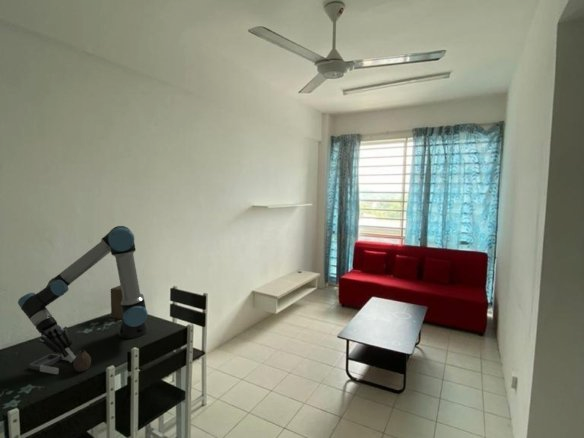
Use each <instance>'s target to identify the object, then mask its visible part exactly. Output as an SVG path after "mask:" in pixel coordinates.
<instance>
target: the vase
mask: <svg viewBox="0 0 584 438" xmlns="http://www.w3.org/2000/svg"><path fill="white" fill-rule="evenodd" d="M75 356H76V357H75V359H74V362H72V363H73V369H74V370H75V371H76V372H78V373H81V372H85V371H87V370H88V369H89V368H90V366H91V363H92V357H91V356H90V354H89V353H88V352H87V351H86V350H84V349H83V350H80V351H78V353H77V355H75Z"/></svg>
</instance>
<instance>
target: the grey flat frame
mask: <svg viewBox="0 0 584 438" xmlns="http://www.w3.org/2000/svg"><path fill="white" fill-rule="evenodd" d="M59 361H63V360H62V354H59V353H49V354H46V355H45V356H42V357H41V358H39V359H36V360H35V361H33V362H31V363H29V364H27V366H28V367H27V370H34V371H39V372H41V371H40V366H41V365H43V366H49V367H51V366H53V365H54V364H56V363H58V362H59Z"/></svg>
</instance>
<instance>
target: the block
mask: <svg viewBox="0 0 584 438" xmlns="http://www.w3.org/2000/svg"><path fill="white" fill-rule="evenodd" d="M122 297H123V296H122V290H121V285H117V286H115V287H112V288H111V289H110V310H111V311H110V313H111V315H110V316H111V319H112V318H113V319H119V318H120V319H121V320H122V308H121V301H122Z"/></svg>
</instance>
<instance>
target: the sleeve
mask: <svg viewBox="0 0 584 438" xmlns="http://www.w3.org/2000/svg"><path fill="white" fill-rule="evenodd" d="M61 355H62V354H61ZM76 356H77V355H75V357H76ZM61 361H68V362H69V360H68V359H67V358H66V357H64V356H63V355H62V360H61ZM73 362H74V361H73ZM73 362H72V363H73ZM39 372H42V373H47V374H53V375H58V374H60V368H59V367H54V366H43V365H41V366H40V371H39Z"/></svg>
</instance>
